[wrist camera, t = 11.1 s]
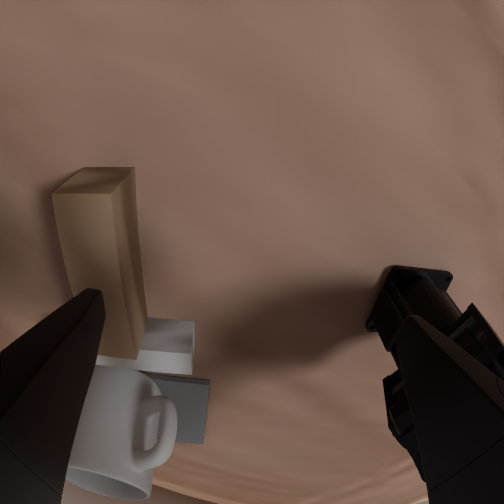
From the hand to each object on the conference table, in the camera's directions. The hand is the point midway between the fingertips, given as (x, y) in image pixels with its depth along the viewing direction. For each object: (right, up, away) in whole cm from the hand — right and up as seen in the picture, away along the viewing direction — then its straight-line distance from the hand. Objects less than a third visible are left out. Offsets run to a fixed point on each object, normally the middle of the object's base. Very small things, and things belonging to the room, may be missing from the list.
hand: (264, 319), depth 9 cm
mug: (-12, -11, +19) cm, 25 cm away
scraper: (-10, +1, +13) cm, 16 cm away
